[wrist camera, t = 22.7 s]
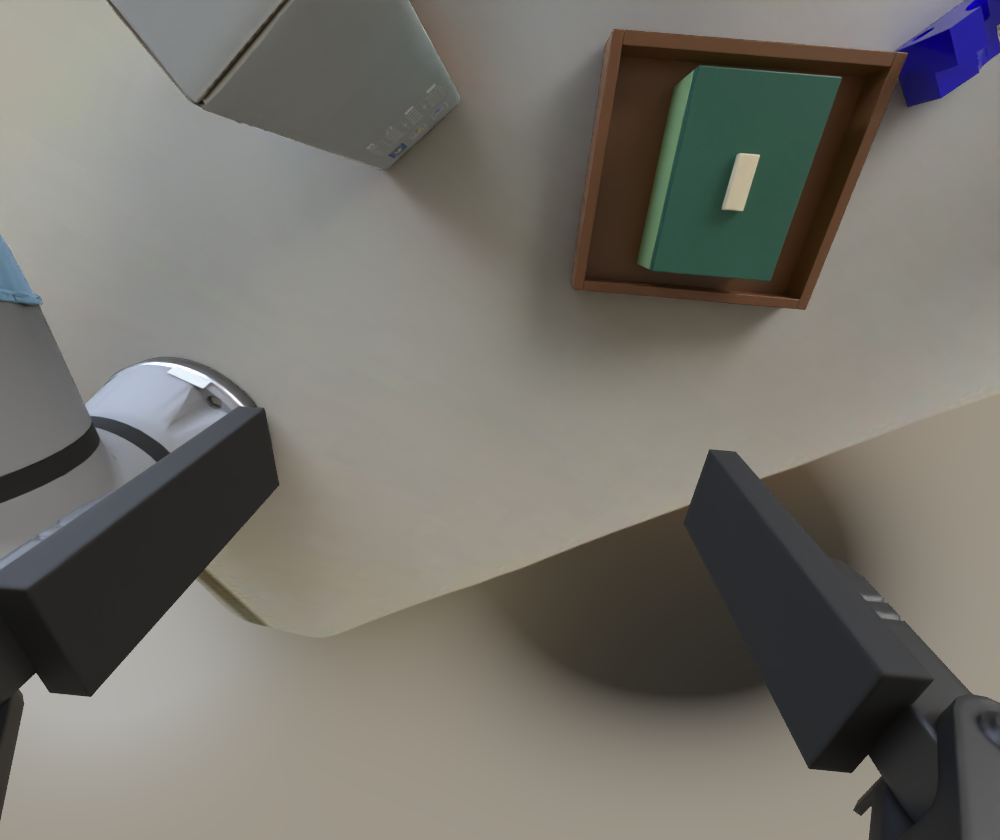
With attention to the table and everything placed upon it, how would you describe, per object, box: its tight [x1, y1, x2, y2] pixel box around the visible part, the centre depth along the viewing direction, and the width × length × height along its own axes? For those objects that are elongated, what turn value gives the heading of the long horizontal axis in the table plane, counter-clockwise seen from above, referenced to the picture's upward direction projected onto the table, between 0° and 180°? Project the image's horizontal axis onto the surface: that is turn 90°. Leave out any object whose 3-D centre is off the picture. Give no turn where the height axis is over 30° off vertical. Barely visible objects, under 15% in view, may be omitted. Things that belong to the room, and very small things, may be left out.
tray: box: [571, 29, 908, 310], centre depth 29 cm, size 17×15×2 cm
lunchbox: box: [637, 65, 842, 281], centre depth 28 cm, size 5×11×8 cm
